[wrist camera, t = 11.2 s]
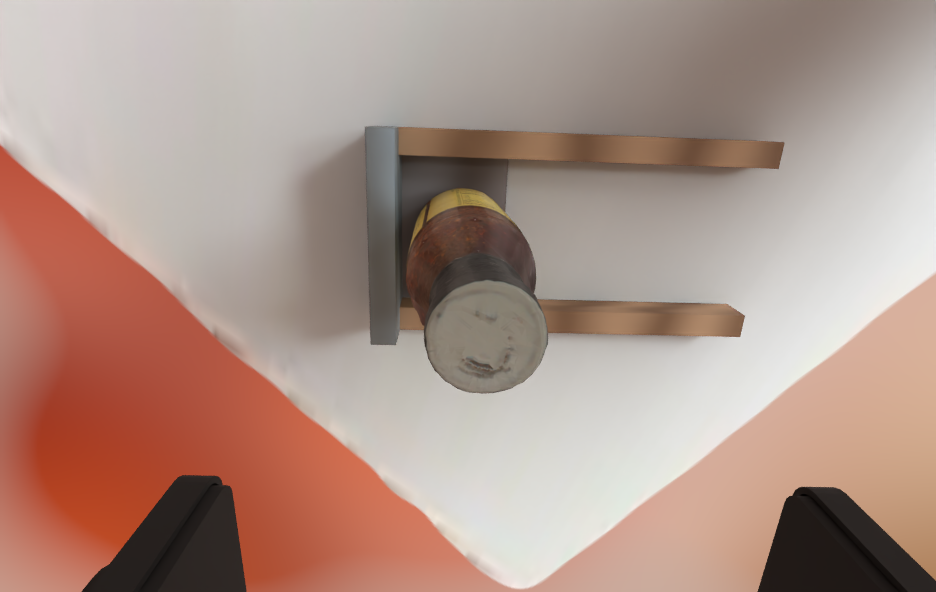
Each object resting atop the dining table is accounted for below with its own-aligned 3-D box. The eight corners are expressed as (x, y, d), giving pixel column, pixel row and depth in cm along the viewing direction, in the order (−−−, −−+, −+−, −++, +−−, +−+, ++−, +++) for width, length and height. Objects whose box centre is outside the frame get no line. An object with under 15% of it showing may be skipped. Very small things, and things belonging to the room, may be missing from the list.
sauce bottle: (458, 290, 36) (465, 471, 18) (397, 227, 35) (333, 350, 16) (528, 230, 35) (616, 355, 16) (468, 161, 34) (490, 211, 15)
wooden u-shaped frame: (762, 141, 34) (812, 144, 29) (722, 324, 38) (761, 352, 34) (377, 126, 33) (364, 126, 28) (380, 316, 37) (370, 344, 32)
